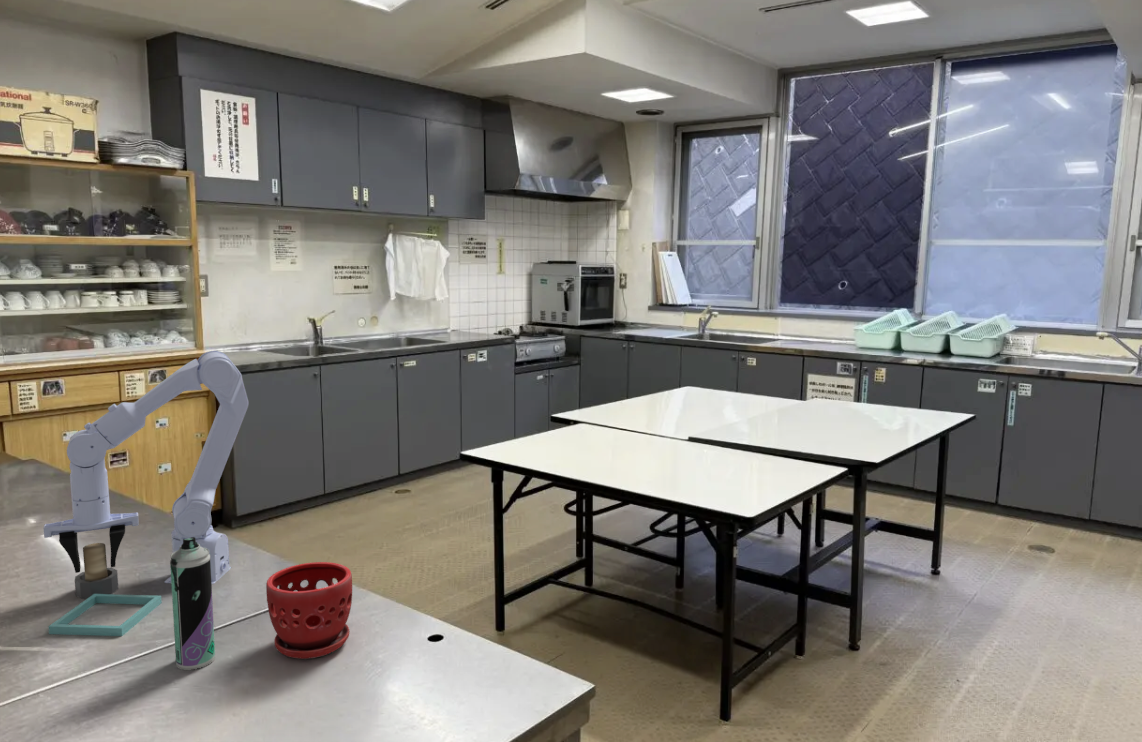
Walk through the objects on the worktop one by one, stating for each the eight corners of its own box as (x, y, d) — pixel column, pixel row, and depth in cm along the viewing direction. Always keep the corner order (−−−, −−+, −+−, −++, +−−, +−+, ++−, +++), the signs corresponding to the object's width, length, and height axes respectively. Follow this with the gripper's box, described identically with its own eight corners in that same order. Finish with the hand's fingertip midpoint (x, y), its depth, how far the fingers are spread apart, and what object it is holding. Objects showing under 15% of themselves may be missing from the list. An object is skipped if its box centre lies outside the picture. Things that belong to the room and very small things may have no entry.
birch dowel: (112, 586, 143) (109, 543, 141) (101, 595, 139) (97, 550, 138) (93, 586, 143) (90, 542, 141) (81, 594, 139) (78, 550, 138)
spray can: (199, 672, 116) (192, 546, 113) (167, 667, 117) (160, 543, 114) (222, 654, 121) (217, 533, 118) (192, 649, 122) (185, 530, 119)
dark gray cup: (126, 585, 144) (124, 568, 144) (104, 601, 138) (103, 583, 137) (91, 584, 144) (89, 567, 144) (67, 600, 138) (66, 582, 137)
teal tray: (161, 605, 137) (161, 595, 137) (122, 638, 125) (121, 628, 125) (94, 603, 137) (94, 593, 137) (49, 636, 125) (48, 626, 125)
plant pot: (369, 633, 129) (368, 566, 127) (318, 673, 117) (316, 599, 115) (305, 619, 133) (303, 553, 131) (250, 655, 121) (247, 584, 119)
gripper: (136, 485, 145) (140, 553, 147) (44, 495, 138) (50, 566, 140) (136, 495, 139) (141, 566, 141) (40, 507, 132) (46, 581, 134)
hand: (95, 567), depth 140 cm, fingers open, 5 cm apart
